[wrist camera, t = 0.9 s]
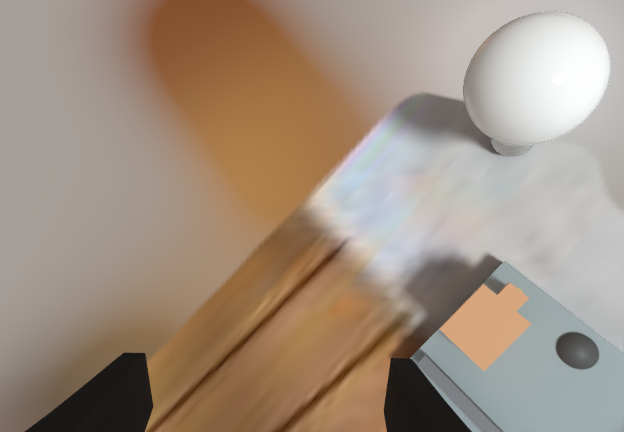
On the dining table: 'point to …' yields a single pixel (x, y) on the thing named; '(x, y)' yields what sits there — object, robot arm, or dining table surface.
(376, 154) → the dining table surface
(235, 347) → the dining table surface
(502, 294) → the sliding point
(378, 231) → the dining table surface
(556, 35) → the lightbulb
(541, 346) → the gauge board
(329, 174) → the dining table surface
